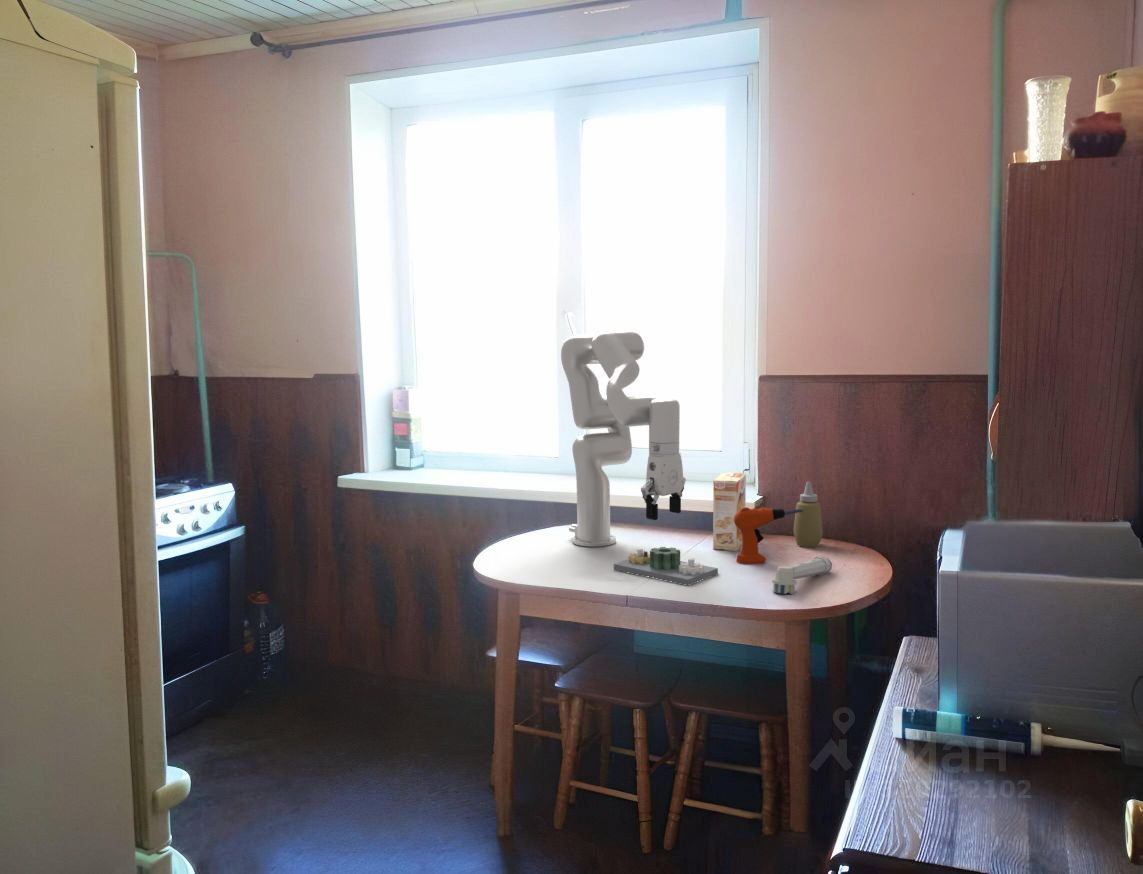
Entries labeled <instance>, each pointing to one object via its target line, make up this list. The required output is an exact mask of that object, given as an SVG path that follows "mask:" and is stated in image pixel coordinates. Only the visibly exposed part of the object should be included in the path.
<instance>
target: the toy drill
mask: <svg viewBox="0 0 1143 874" xmlns="http://www.w3.org/2000/svg"><path fill="white" fill-rule="evenodd" d="M798 512H803V509H796V508H795V509H789V510H787V509H786V510H785V509H784V508H783V509H782V508H777V509H776V508H773V509H772V508H767V507H763V506H762V507H760V508H756V507H753V508H749V507H746V506H745V508H742V509H741V510H740V511H739V512H738V513H736V515H735V516H734V523H735V525H736V526H737V527H738V528H739V529H740V530H741V533H742V544H741V547H740V548H741V549H740V552H739V553H737V554H736V562H737V563H738V564H742V563H743V564H744V565H758V564H761V563H762V564H765V563H766V561H767V557H766V556H765V555H764V554H762V553H760V552H759V543H761V542H762V541H763V540H764V536H762V534H761V532H760V530H759V529H758V528H761V527H762V526H764V525H767V524H769V523H771V522H774V521H775V520H778V519H784V518H785V516H788V515H791V514H795V513H798ZM743 564H742V565H743ZM762 564H761V565H762Z"/></svg>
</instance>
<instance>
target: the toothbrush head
mask: <svg viewBox="0 0 1143 874" xmlns="http://www.w3.org/2000/svg"><path fill="white" fill-rule="evenodd" d="M832 566H833V563H832V561H831V560H830V558H829V557H820V556H815V557H814V558H813V559H810V560H806V561H803V562H801V563H800V562H799V563H797V564H794V565H791V566H786V565H784V566H778V567H777V569H776V575H775V577H774V578H772V580H771V583H772V584H773V588H772V589H773V590H772V591H773V592H774V593H778V594H784V595H785V594H787V593H789V594H794V593H795V590H796V589H795V587H796V586H797V584H798V581H797V580H798V579H803V578H807V577H808V578H809V577H814V576H817V575H818V576H823V575H824V574H827V573H829V572H830V571H832V570H833V569H832Z"/></svg>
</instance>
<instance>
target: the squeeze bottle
mask: <svg viewBox="0 0 1143 874" xmlns="http://www.w3.org/2000/svg"><path fill="white" fill-rule="evenodd" d="M813 490H814V489H813V485H812V482H811V481H806V483H805V487H804V491H803V493H801V494H799V501H798V502H796V505H795V509H803V512H798V513H794V521H793V536H794V538H795V542H796V544H797V546H799V547H805V548H815V547H818V546H820V542H821V540H822V537H823V533H824V530H823V520H822V517H823V516H822V509H821V504H820V503H819V502H818V494H815V493H814V491H813Z"/></svg>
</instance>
